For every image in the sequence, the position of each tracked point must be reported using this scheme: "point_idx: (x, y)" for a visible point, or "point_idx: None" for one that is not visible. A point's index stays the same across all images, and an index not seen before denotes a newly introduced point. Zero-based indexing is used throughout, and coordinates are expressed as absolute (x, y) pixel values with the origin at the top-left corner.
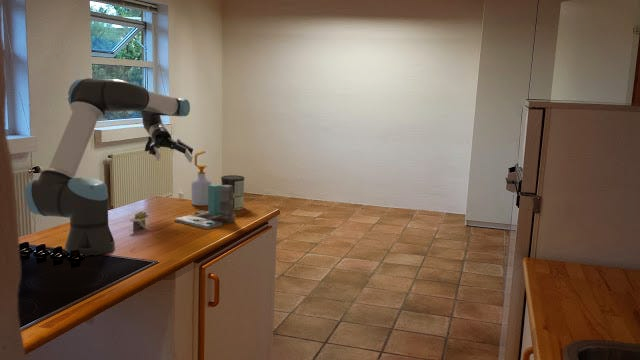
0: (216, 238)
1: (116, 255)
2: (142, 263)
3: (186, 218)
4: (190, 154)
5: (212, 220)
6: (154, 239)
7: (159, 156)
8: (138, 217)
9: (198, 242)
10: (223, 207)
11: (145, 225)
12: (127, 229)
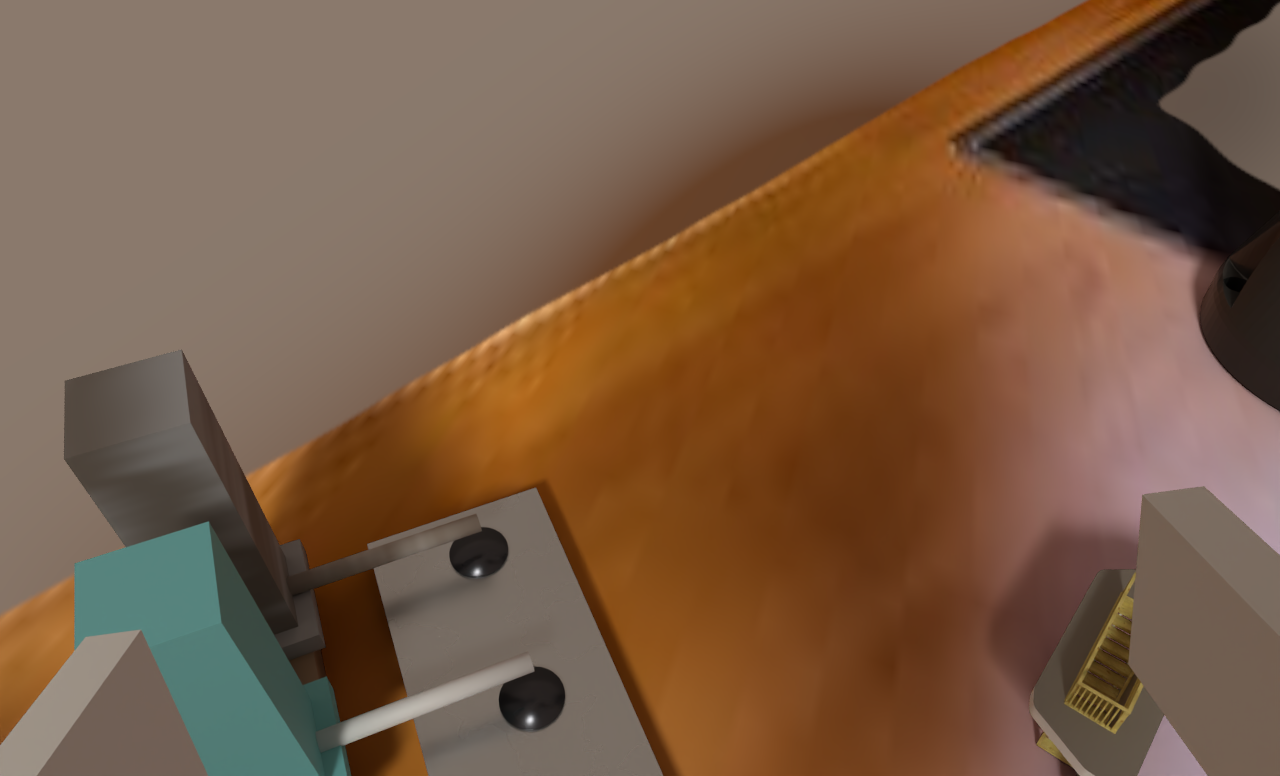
0: (579, 315)
1: (1164, 245)
2: (1023, 146)
3: None
4: (18, 754)
5: (397, 639)
6: (960, 409)
7: (1156, 550)
8: None
9: (707, 288)
10: (266, 543)
11: (1041, 735)
12: None
